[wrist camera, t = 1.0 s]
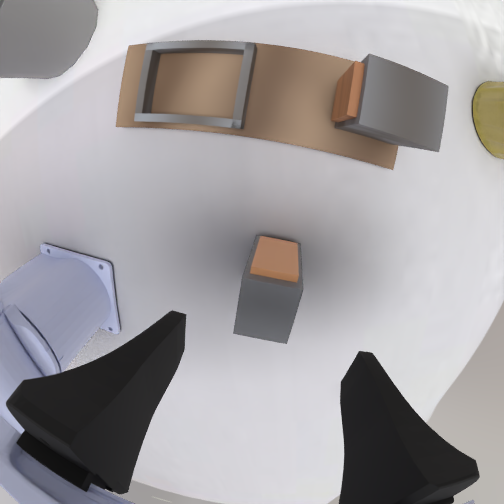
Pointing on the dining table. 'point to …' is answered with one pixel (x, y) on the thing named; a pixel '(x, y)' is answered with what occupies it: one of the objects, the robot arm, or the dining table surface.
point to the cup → (43, 36)
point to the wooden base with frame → (283, 97)
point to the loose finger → (270, 290)
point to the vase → (490, 116)
